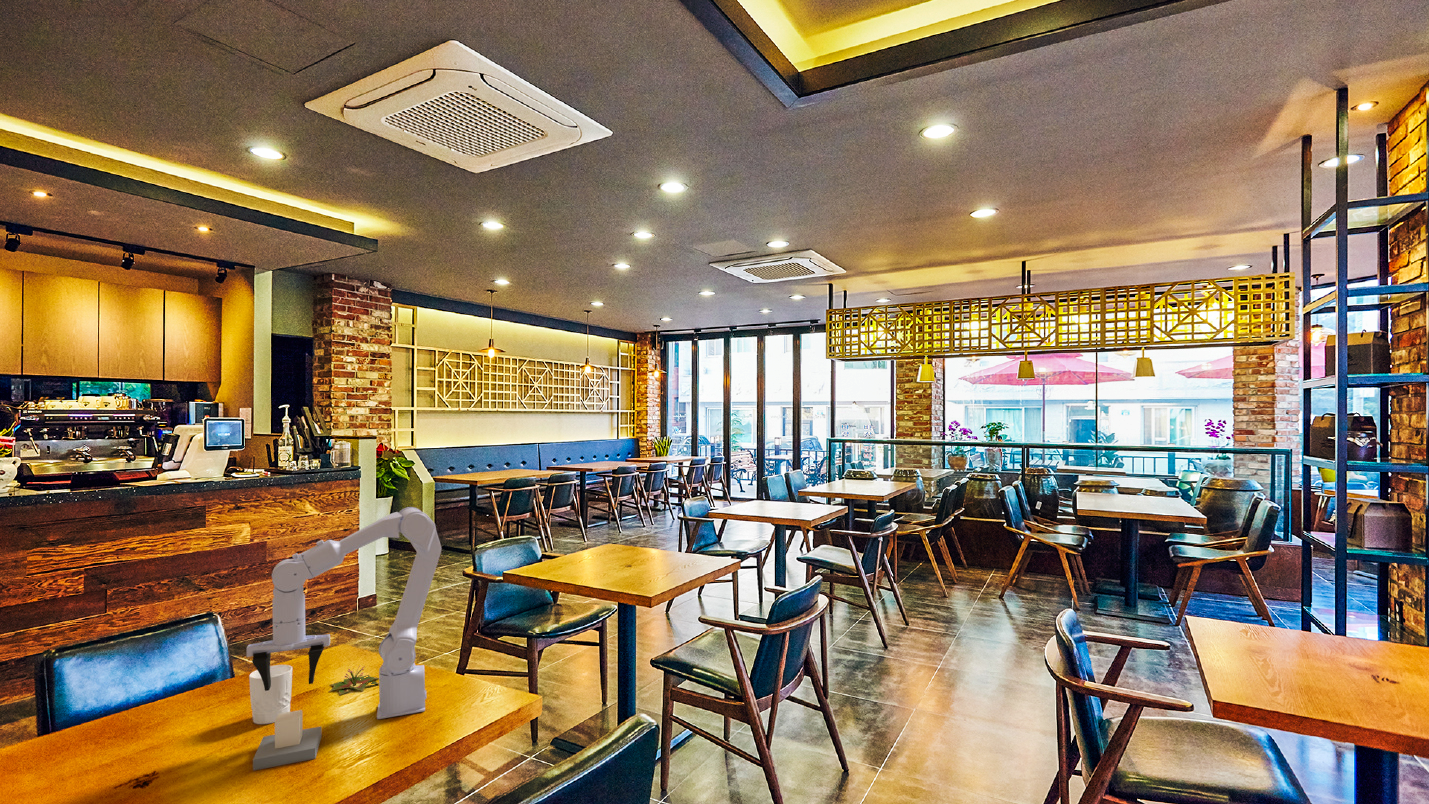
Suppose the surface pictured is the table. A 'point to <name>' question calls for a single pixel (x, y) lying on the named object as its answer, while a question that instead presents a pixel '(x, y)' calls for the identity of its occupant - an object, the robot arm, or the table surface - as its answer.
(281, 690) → the white cup
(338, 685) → the lily flower
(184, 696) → the table surface
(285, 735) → the cream block
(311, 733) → the slate tile
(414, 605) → the robot arm
